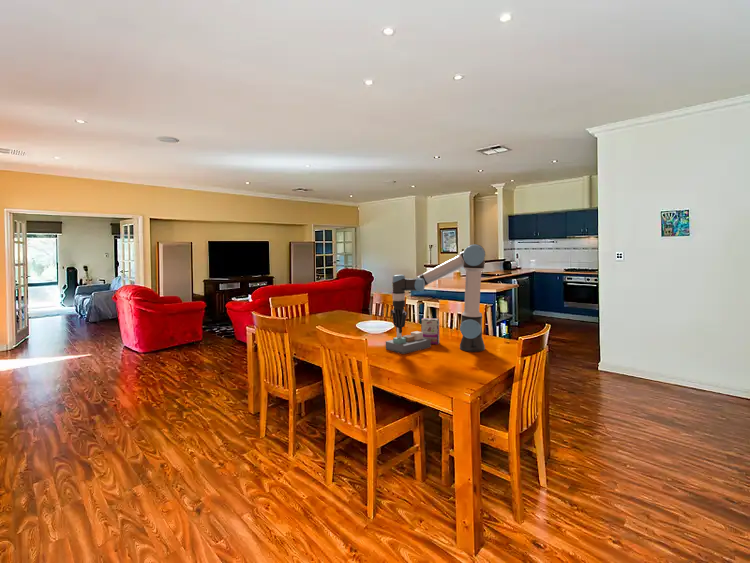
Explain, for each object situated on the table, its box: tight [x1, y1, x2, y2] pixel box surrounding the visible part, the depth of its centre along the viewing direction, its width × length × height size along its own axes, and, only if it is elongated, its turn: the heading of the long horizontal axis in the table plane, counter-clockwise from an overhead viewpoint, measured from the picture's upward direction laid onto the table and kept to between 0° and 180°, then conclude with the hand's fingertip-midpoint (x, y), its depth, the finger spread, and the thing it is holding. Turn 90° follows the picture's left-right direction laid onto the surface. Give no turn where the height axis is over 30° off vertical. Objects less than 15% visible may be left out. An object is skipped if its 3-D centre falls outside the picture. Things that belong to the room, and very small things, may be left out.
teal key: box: [392, 336, 406, 344], centre depth 250 cm, size 6×6×4 cm
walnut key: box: [402, 334, 415, 342], centre depth 255 cm, size 6×6×4 cm
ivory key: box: [410, 330, 423, 340], centre depth 259 cm, size 6×6×4 cm
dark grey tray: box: [385, 338, 432, 355], centre depth 255 cm, size 16×24×5 cm, turn 129°
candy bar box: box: [420, 317, 440, 345], centre depth 266 cm, size 11×5×16 cm, turn 70°
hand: (399, 337), depth 250 cm, fingers closed
